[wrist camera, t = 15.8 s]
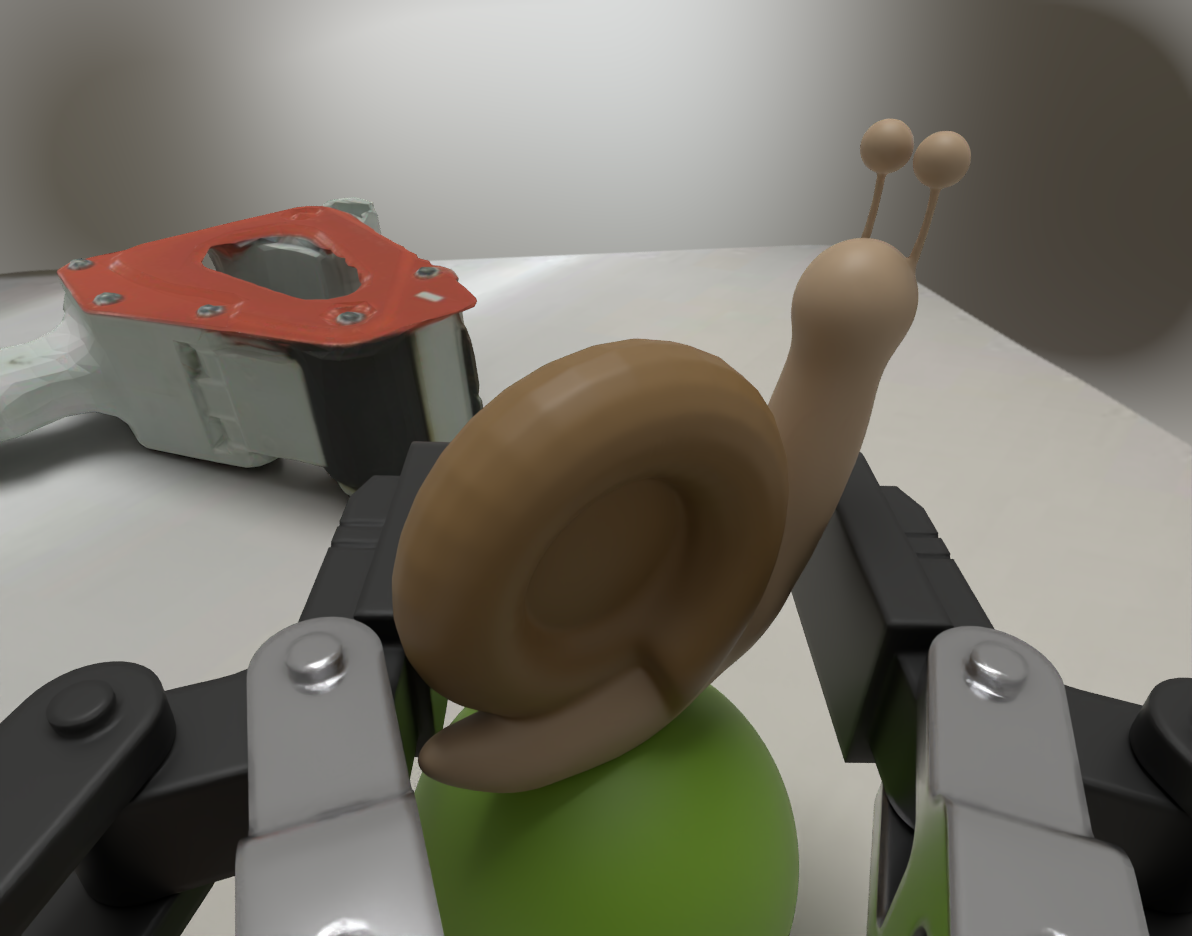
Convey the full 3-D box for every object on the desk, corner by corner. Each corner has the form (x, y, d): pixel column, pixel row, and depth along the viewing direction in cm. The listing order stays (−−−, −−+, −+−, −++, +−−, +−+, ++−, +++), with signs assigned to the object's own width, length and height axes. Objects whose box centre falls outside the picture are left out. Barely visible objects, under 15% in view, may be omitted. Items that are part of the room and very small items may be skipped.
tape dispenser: (-326, 587, 21) (397, 680, 18) (-494, 414, 18) (344, 487, 15) (113, 300, 35) (567, 321, 32) (60, 174, 32) (558, 183, 29)
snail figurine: (876, 949, 13) (1228, 186, 7) (544, 1268, 10) (588, 370, 3) (659, 723, 17) (747, 82, 10) (360, 903, 13) (204, 117, 7)
